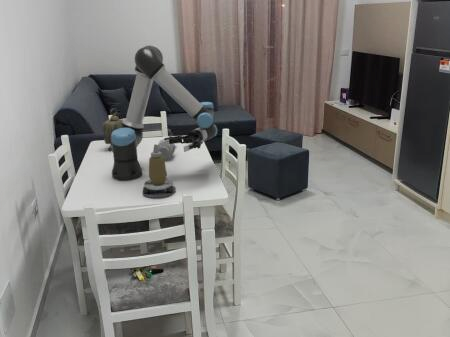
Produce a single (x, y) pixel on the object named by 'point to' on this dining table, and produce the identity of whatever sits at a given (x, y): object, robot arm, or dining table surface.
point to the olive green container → (111, 127)
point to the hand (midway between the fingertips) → (172, 147)
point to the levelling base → (159, 193)
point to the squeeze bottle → (157, 167)
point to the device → (166, 150)
